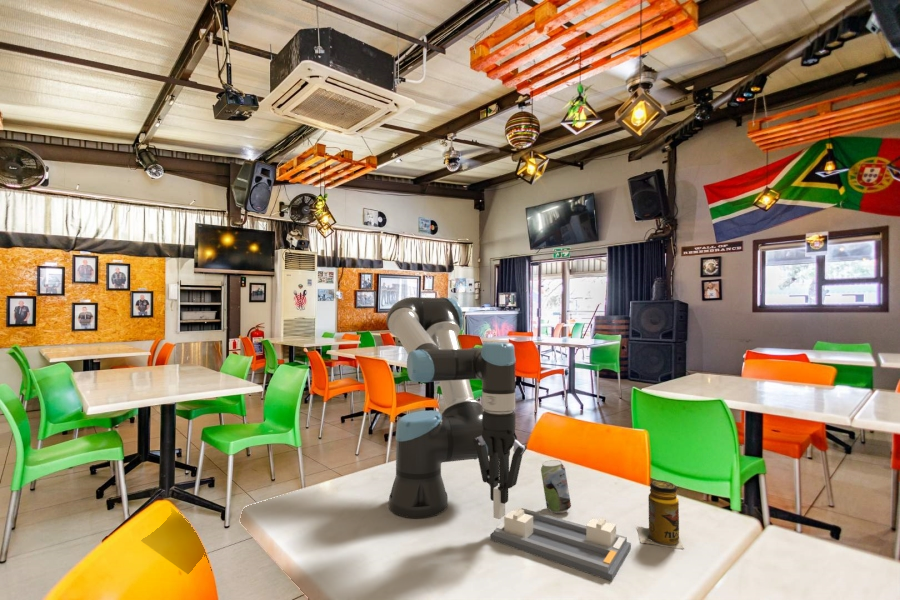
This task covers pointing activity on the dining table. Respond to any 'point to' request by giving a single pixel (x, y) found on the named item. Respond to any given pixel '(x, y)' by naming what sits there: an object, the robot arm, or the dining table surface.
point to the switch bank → (566, 545)
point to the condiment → (662, 516)
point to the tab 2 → (601, 532)
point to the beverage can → (555, 486)
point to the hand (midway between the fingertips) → (499, 516)
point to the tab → (518, 523)
